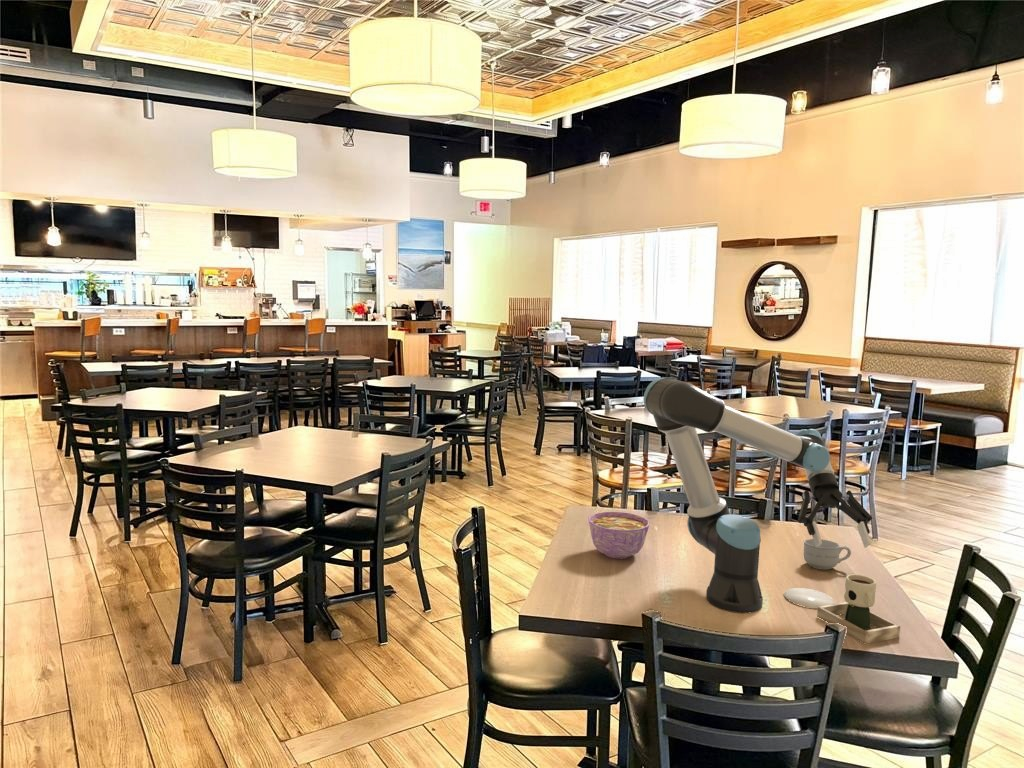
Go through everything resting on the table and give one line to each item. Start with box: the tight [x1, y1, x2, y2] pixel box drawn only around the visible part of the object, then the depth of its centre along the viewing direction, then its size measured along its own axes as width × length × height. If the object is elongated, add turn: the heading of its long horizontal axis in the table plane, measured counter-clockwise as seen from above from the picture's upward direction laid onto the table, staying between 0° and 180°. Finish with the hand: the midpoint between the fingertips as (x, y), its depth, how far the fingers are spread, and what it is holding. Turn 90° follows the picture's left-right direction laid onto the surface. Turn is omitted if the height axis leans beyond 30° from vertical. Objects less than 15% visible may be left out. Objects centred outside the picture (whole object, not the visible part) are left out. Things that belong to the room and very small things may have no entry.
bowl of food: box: [588, 511, 650, 559], centre depth 232 cm, size 20×20×12 cm
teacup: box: [803, 538, 852, 571], centre depth 226 cm, size 14×11×8 cm
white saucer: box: [783, 587, 835, 610], centre depth 201 cm, size 13×13×1 cm
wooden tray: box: [816, 601, 901, 644], centre depth 184 cm, size 12×16×3 cm
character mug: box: [843, 573, 877, 630], centre depth 183 cm, size 11×7×13 cm, turn 0°
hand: (843, 545), depth 193 cm, fingers open, 13 cm apart
